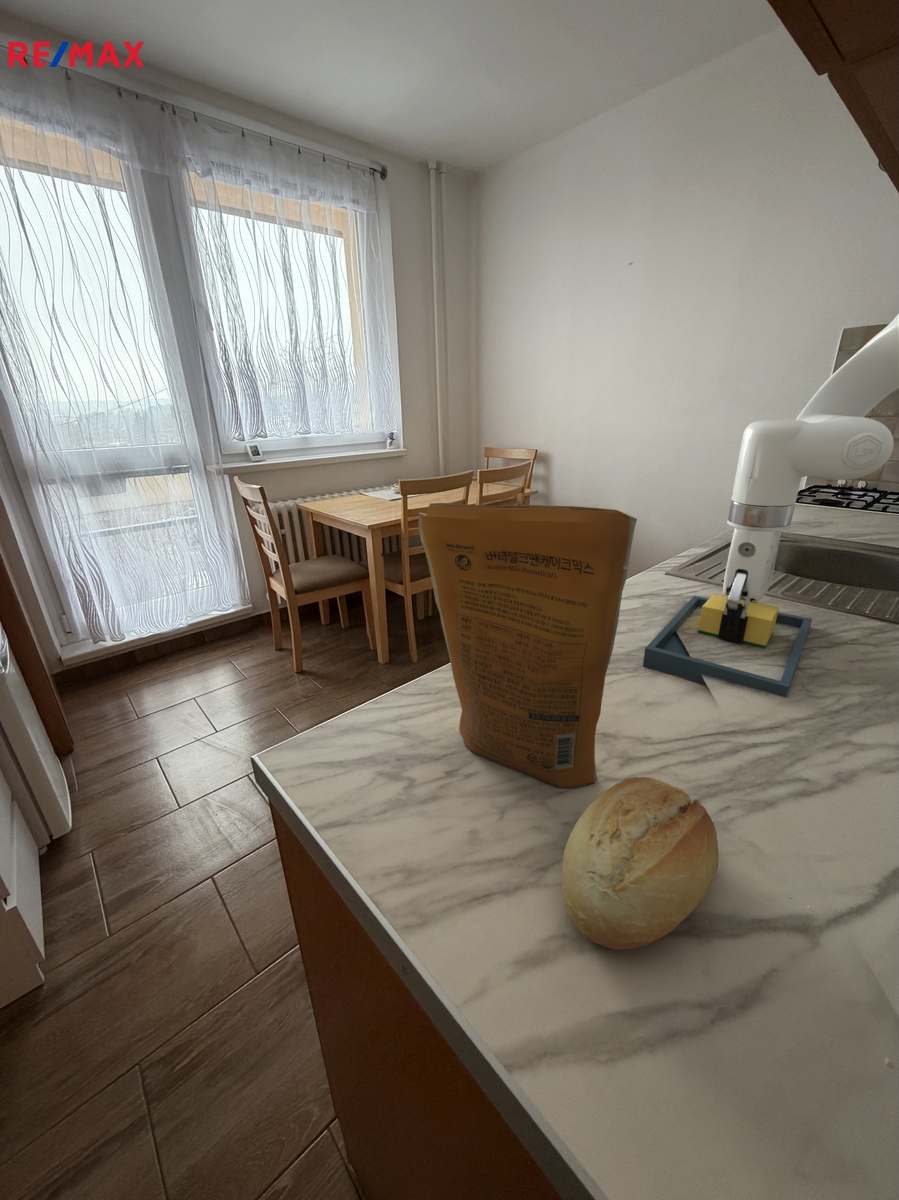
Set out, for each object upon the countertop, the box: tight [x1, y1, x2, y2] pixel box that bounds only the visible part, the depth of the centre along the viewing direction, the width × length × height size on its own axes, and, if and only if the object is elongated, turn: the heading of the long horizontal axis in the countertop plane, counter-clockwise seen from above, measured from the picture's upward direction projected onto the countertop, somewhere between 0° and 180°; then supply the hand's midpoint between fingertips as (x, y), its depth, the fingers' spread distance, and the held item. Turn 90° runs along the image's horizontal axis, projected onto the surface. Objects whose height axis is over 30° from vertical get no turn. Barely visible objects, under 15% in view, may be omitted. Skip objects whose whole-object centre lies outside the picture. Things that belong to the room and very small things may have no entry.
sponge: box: [697, 594, 780, 650], centre depth 73 cm, size 6×9×5 cm, turn 49°
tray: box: [642, 595, 813, 698], centre depth 72 cm, size 24×17×3 cm
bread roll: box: [561, 776, 719, 951], centre depth 37 cm, size 10×15×8 cm, turn 135°
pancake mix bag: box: [418, 502, 638, 789], centre depth 47 cm, size 7×19×28 cm, turn 56°
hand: (735, 630), depth 74 cm, fingers closed on sponge, 6 cm apart
